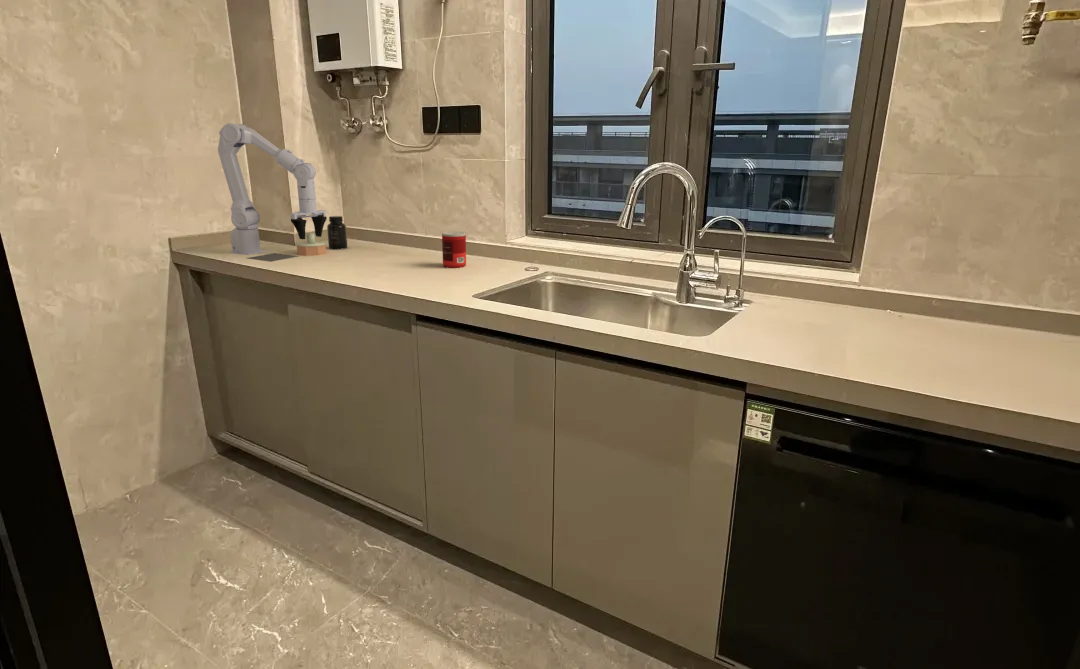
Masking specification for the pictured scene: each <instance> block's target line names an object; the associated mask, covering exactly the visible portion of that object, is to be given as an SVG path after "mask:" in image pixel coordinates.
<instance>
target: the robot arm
mask: <svg viewBox="0 0 1080 669" xmlns="http://www.w3.org/2000/svg"><path fill="white" fill-rule="evenodd" d="M218 135H219V141H218V146H217V153H218V157H219V160H220V164H221V167H222V169H223V173H224V178H225V180H226V183H227V187H228V190H229V193H230V196H231V200H232V203H231V206H230V211H231V215H230V216H231V218H230V221H231V222H232V224H233V226H234V227H235V228H233V229H231V231H230V242H231V244H230V245H231V251H230V252H229V253H230V254H231V253H232V254H239V255H247V256H248V255H249V256H250V255H255V254H261V253H266V252H267V250H262V249H261V243H260V242H261V241H260V232H259V226H258V224H259V223H260V222H261V221H260V220H261V215H260V213H259V211H258V210H257V209H256V207H255V204H254V203H253V201H251V200H250V197H249V194H248V191H247V187H246V182H245V179H244V177H243V176H244V175H243V173H242V171H241V167H240V162H239V160H238V156H237V154H238V152H239V151H240V149H241V148H242V147H243V146H245V145H246V144H251V145H254V146H256V147H257V148H259V149H260V150H262V151H264V152H265V153H266V154H268V155H270V156H272V157H273V158H274V160H275V164H277V165H279V166H280V167H282V168H283V169H285V170H286V171H287V172H289V173H290V174H292V175H293V176H294V178H295V179H296V185H297V186H296V188H297V196H298V197H297V198H298V207H299V211H296V212H291V213H289V216H290V223H292V224H293V226H294V228H295V230H296V232H297V234H298V235H297V236H298V238H299V240H306V238H307V235H306V224H307V219H305V218H311V221H312V223H313V227H314V228H313V229H314V233H315V237H320V238H321V237H322V234H323V229H324V226H325V223H326V221H327V218H328V217H327V212H326V209H317V207H318V206H317V199H316V198H317V196H316V186H315V177H316V174H317V171H316V168H315V166H313V165H312V163H310V162H305V160H304V159H303V158H299V157H298V156H297V155H295V154H294V153H293V151H292V150H290V149H285V148H283V149H280V148H278V146H276V145H274V143H272V142H270V140H268V139H267V138H265V137H263V136H262V135H261V134H260V133H258V132H257V131H256V130H255V129H253V128H250V127H249V126H248V125H246V124H242V123H241V124H237V123H230V122H229V123H226V124H224V125H223V127H221V129H220V130H219V131H218Z"/></svg>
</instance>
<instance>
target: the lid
mask: <svg viewBox="0 0 1080 669" xmlns="http://www.w3.org/2000/svg"><path fill="white" fill-rule="evenodd" d="M305 236H306V241H300V242H296V247H297V246H302V247H315V246H323V245H326V246H327V242H326V241H323V240H322V241H321V240H316V235H315V232H305Z"/></svg>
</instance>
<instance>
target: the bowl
mask: <svg viewBox="0 0 1080 669" xmlns="http://www.w3.org/2000/svg"><path fill="white" fill-rule="evenodd" d="M296 249H297V252H296V253H297V256H304V257H308V256H320V255H321V256H322V255H325V254H327V244H326V245H323V246H315V247H302V246H297V245H296Z"/></svg>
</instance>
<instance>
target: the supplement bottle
mask: <svg viewBox="0 0 1080 669" xmlns="http://www.w3.org/2000/svg"><path fill="white" fill-rule="evenodd" d="M328 222H329V223H328V224H327V226H326V227H327V228H326V229H327V230H326V231H327V242H328V248H329V249H330V248H332V249H331V250H342V249H341V248H345V249H347V248H348V237H347V235H348V234H347V226H346V224H345V223H343V222H344V220H343V216H342V215H331V216H329V217H328Z"/></svg>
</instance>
